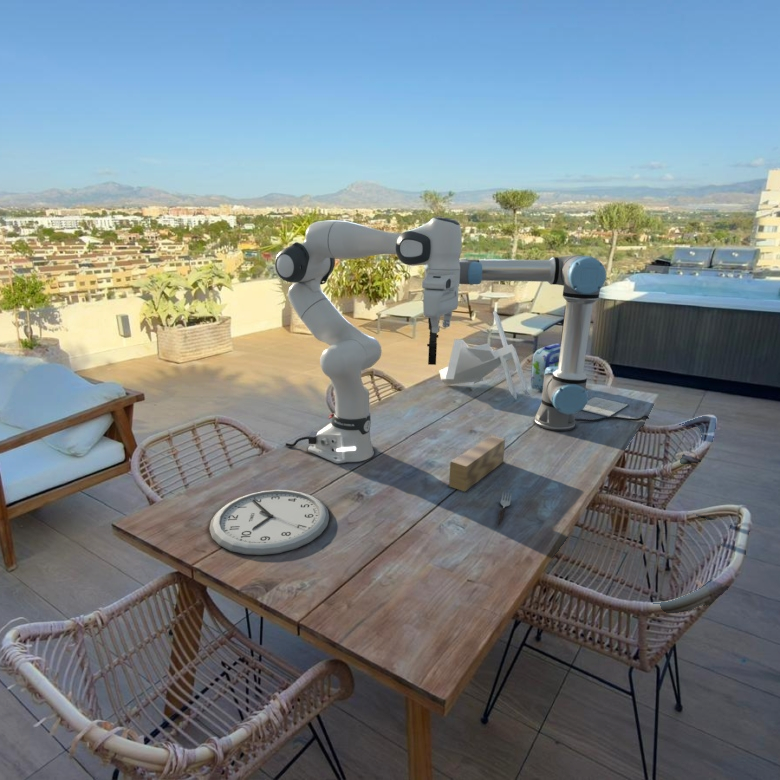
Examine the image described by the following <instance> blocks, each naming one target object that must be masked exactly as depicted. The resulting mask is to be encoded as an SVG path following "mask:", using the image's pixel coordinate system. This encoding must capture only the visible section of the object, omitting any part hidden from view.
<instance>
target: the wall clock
mask: <svg viewBox="0 0 780 780" xmlns="http://www.w3.org/2000/svg"><path fill="white" fill-rule="evenodd" d="M329 521H330V514H329V509H328V507H327V506H326V505H325V504H324V503H323V502H322V501H321V500H320V499H318V498H317V497H315V496H313V495H310V494H308V493H304V492H301V491H295V490H291V489H290V490H288V489H272V490H270V489H269V490H262V491H258V492H252V493H249V494H246V495H244V496H240V497H238V498H235V499H234V500H231V501H230V502H229V503H226V504H225V505H224V506H223V507H222V508H221V509H219V510H218V511H216V513H215V514H214V516H213V517H212V518H211V521H210V524H209V533H210V536H211V539H212V540H213V541H214V542H215V543H216V544H217V545H218V546H219V547H222V548H224V549H226V550H228V551H230V552H234V553H237V554H243V555H254V556H266V555H274V554H275V555H276V554H281V553H285V552H289V551H292V550H296V549H298V548H301V547H304V546H305V545H307V544H309V543H311V542H313V541H314V540H316V539H317V538H318V537H319V536H321V535H322V534H323V532H324V531H325V530H326V529H327V527H328V525H329Z"/></svg>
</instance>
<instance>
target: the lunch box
mask: <svg viewBox="0 0 780 780" xmlns="http://www.w3.org/2000/svg"><path fill="white" fill-rule="evenodd" d="M560 349H561V343H553V344H550V345H547V346H546V345H545V346H544V347H541V348H538V349H537V350H536V351H535V352H534V354H533V357H532V362H531V371H530V372H531V374H530V387H531V389H533V390H539V391H543V382H544V373H545V369H546V368H547V367H553V366H557V367H558V365H559V357H560Z"/></svg>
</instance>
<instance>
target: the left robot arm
mask: <svg viewBox="0 0 780 780" xmlns="http://www.w3.org/2000/svg"><path fill="white" fill-rule="evenodd" d="M304 237H305V238H304V240H303V242H301V243H300V242H298V241H295V242H293V243H292V244H291V245H289V246H287V247H285V248H284V249H282V250H281V251H279V252H278V254H276V257H275V260H274V269H275V271H276V274H277V276H278V277H279V278H280V279H281V280H282V281H284V282H287V283H292V284H291V285H290V287H289V288H288V290H287V298H288V300H289V303H290V304H291V306H292V309H293V310H294V311H295V313H296V315H297V316H298V318H300V320H301V321H302V323H304V324H303V325H305V326H306V328H307V329H308V330H309V331H310V333H311V334H312V335H313V336H314V338H315V339H316V340H318V341H319V342H322V343H325V344H326V345H329V346H328V347H327V348H326V349H325V350H323V351H322V352H321V355H320V357H319V365H320V369H321V371H322V372H323V374H324V375H325V376H326V377H327V378H329V380H330V381H331V384H332V387H333V391H334V409H335V411H334V412H332V414H330V415H328V420H330V419H331V422H329V423H328V424H326V425H325V426H324V427H322V428H321V429H319V430H318V431H311V433H310V434H309V435H307V436H302V437H299V438H296V440H295V441H294V442H293V443H285V446H286V447H291V448H292V447H296V445H297V444H298V443H299V442H300V441H301V442H302V441H304V440H308V445H309V446H308V449H307V451H308V452H309V453H312V454H314V455H316V456H318V457H320V458H323V459H324V460H328V461H329V462H332V463H333V464H345V463H358V462H363V461H366V460H369V459H371V458H372V457H374V454H375V452H374V448H373V445H372V440H371V439H372V438H371V423H372V422H371V421H372V420H371V413H370V390H369V389H368V388H367V387H366V386H365V385H364V384H363V380H362V379H363V378H362V372H363V371H365V370H368V369H370V368H372V367H374V365H376V363H377V362H379V360H380V359H381V357H382V353H383V352H382V346H381V343H380V342H379V341H378V340H377V338H375V337H373V336H370V335H368V334H366V333H364V332H362V330H360V329H358V327H356V326H354V324H352V323H351V322H349V320H347V319H346V318H345V317H344V315H343V314H342V313H341V312H340V311H339V310H338V309H337V307H336V306H335V305H334V304H333V302H332V301H331V300H330V299H329V298H328V296H327V295H326V294H325V293H324V291H323V290H322V286H321V285H324V284H326V283H327V282H328V279H329V278H330V276H331V275H332V273H333V271H334V269H335V265H336V259H337V260H356V259H357V260H358V259H363V258H368V257H373V256H377V255H378V256H379V255H396V257H397V258H398V260H399V261H400V262H401V263H402V264H404V265H407V266H411V267H415V266H425V265H426V264H427V265H428V273H427V275H426V277H425V276H424V278H423V279H422V282H421V283H422V284H421V288H422V289H424V290H423V291H424V293H422V294H423V295H422V297H423V298H422V299H423V300H422V301H423V303H422V305H423V307H422V309H423V314H424V317H425V318H426V319H428V318H430V321H431V325H432V333H437V334H438V333H439V332H440V327H441V326H440V320H439V318H440V317H443V320H442V328H449V327H450V326H451V319H452V314H453V311H455V310H457V309H458V307H459V287H460V284H459V282H460V264H459V260H461V258H460V257H461V255H462V247H463V246H462V243H463V241H462V240H463V238H462V237H463V236H462V226H461V224H460V222H458V221H457V220H455V219H454V218H449V217H443V216H435V217H432V218H431V219H430V220H429V221H427V222H426V223H424V224H423V225H420V226H418V227H415V228H412V229H409V230H406V231H403V232H390V231H385V230H380V229H377V228H373V227H370V226H366V225H362V224H360V223H355V222H352V221H345V220H335V219H334V220H333V219H331V220H320V221H315V222H313V223H311V224H310V225H309V226H307V229H306V231H305V235H304Z"/></svg>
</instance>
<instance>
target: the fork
mask: <svg viewBox="0 0 780 780" xmlns="http://www.w3.org/2000/svg"><path fill="white" fill-rule="evenodd" d="M504 493H505V491H503V492H502V496H501V499H500V505H501V506H502V508H501V510H500V511H499V514H498V520H497V521H498V522H497V526H500V524H501V522H502V520H503V518H504V517H505V516H504V515H505V508H506V507H509V506H510V505H511V500H512V494H510V493H509V492H508V493H505V495H504ZM509 494H510V496H509Z"/></svg>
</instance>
